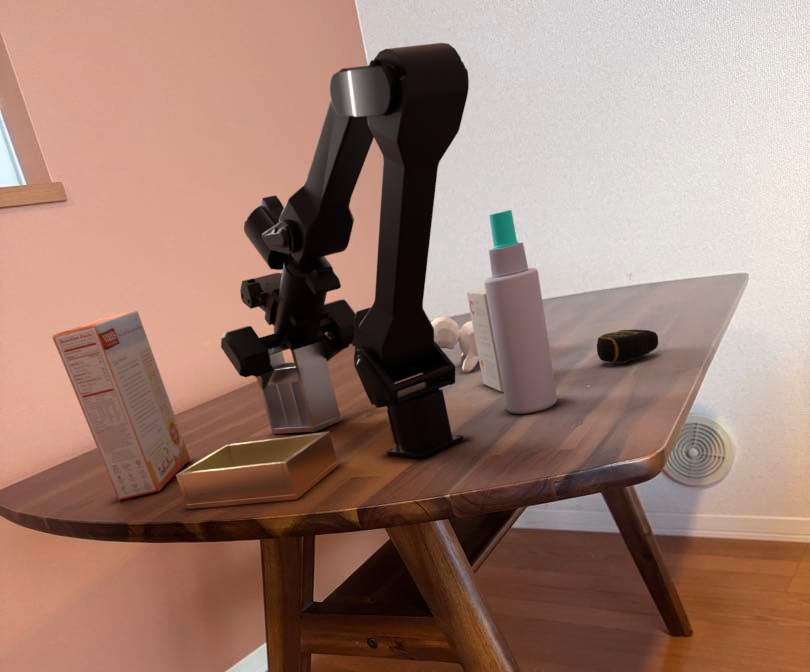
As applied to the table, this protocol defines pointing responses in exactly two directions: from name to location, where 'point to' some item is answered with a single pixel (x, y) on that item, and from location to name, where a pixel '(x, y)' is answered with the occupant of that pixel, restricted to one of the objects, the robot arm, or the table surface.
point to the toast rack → (300, 392)
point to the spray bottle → (518, 322)
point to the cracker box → (124, 402)
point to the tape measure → (626, 345)
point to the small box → (484, 338)
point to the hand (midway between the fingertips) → (286, 378)
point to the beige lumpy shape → (450, 334)
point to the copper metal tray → (258, 471)
